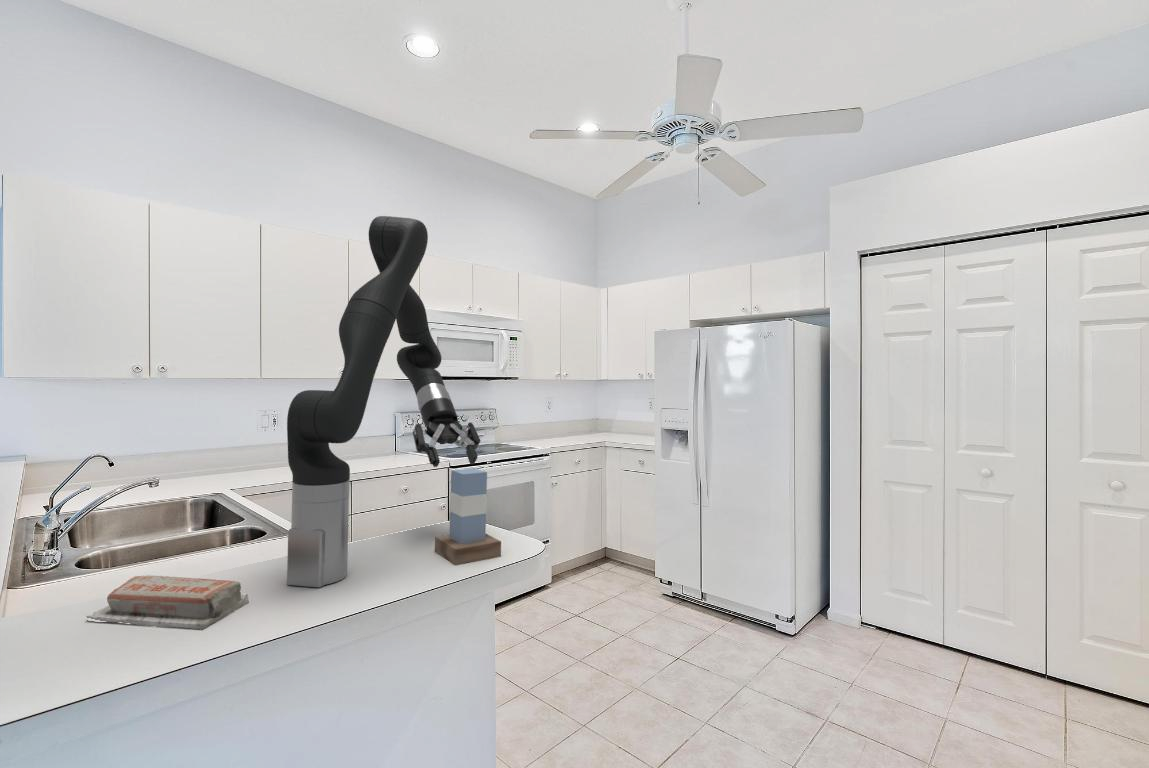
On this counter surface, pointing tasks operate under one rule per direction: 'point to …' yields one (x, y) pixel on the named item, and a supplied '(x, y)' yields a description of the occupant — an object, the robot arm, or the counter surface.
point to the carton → (468, 505)
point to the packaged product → (172, 602)
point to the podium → (467, 549)
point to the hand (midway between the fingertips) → (455, 463)
